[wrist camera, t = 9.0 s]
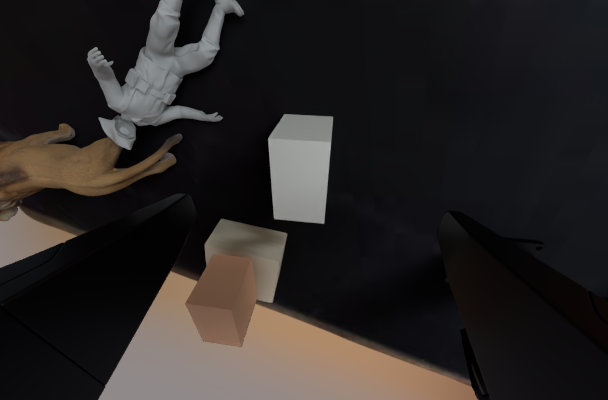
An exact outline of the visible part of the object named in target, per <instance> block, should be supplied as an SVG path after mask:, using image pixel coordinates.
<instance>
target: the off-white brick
mask: <svg viewBox="0 0 608 400" xmlns="http://www.w3.org/2000/svg"><path fill="white" fill-rule="evenodd" d="M332 125H333V117H327V116H307V115H288V114H284V116H283V117H282V119H281V120H280V122H279V123H278V125H277V126H276V127H275V129H274V130H273V132H272V133H271V135H270V136H269V138H268V145H269V158H270V172H271V185H272V198H273V212H274V219H280V220H290V221H301V222H312V223H322V224H324V219H325V207H326V196H327V184H328V172H329V160H330V149H331V137H332Z"/></svg>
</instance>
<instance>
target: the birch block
mask: <svg viewBox="0 0 608 400" xmlns="http://www.w3.org/2000/svg"><path fill="white" fill-rule="evenodd" d="M286 238H287V233H283V232H279V231H274V230H270V229H265V228H261V227H257V226H252V225H248V224H243V223H239V222H234V221H230V220H225V219H221V220H220V221H219V223H218V224H217V226H216V227H215V229H214V231H213V232H212V234H211V235H210V237H209V238H208V240H207V242H206V243H205V256H206V267H207V265H208V263H209V262H210V260H211V258H212V256H213V255H214V254H219V255H228V256H236V257H245V258H252V264H253V270H254V277H255V283H256V289H257V296H258V297H257V300H260V301H265V302H269V303H272V302H273V298H274V294H275V290H276V286H277V282H278V278H279V273H280V268H281V263H282V258H283V253H284V248H285V243H286Z"/></svg>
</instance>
